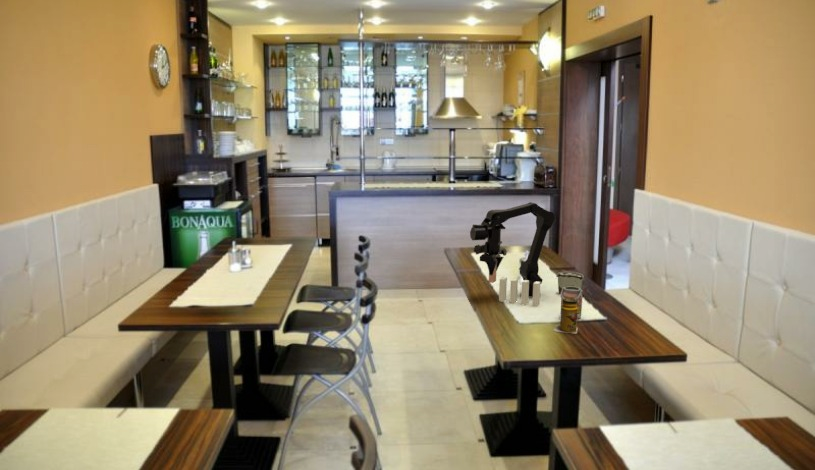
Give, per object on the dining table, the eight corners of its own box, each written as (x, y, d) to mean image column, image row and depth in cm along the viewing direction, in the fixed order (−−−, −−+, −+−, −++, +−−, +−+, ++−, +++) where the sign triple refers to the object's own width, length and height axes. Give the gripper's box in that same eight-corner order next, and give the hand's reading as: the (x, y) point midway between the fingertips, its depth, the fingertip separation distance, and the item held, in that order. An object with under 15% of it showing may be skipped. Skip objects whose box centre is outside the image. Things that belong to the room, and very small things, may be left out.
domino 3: (517, 301, 272) (517, 279, 270) (514, 303, 268) (515, 281, 266) (512, 300, 272) (513, 278, 271) (509, 302, 269) (510, 280, 267)
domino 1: (496, 280, 275) (496, 258, 273) (492, 282, 271) (493, 260, 269) (491, 280, 276) (492, 258, 274) (488, 282, 272) (489, 260, 270)
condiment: (576, 334, 230) (578, 303, 228) (553, 331, 232) (555, 300, 230) (577, 328, 237) (579, 297, 234) (555, 325, 239) (556, 295, 237)
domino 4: (528, 302, 269) (529, 280, 267) (525, 304, 266) (526, 282, 264) (523, 302, 270) (524, 279, 268) (520, 304, 267) (521, 281, 265)
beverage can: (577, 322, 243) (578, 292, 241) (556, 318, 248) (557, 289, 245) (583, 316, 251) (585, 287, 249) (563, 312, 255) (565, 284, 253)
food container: (585, 294, 284) (586, 272, 282) (582, 297, 278) (584, 275, 276) (558, 290, 289) (559, 270, 287) (555, 294, 283) (556, 272, 281)
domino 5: (539, 304, 267) (540, 281, 265) (536, 306, 264) (538, 283, 262) (534, 303, 268) (536, 281, 266) (532, 305, 264) (533, 283, 263)
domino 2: (506, 299, 274) (507, 277, 272) (503, 301, 270) (504, 279, 268) (501, 298, 275) (502, 277, 273) (498, 301, 271) (499, 279, 269)
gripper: (484, 234, 282) (483, 267, 285) (468, 241, 265) (467, 276, 268) (507, 236, 277) (506, 270, 279) (493, 243, 260) (492, 279, 263)
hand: (492, 273), depth 273 cm, fingers closed on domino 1, 4 cm apart
